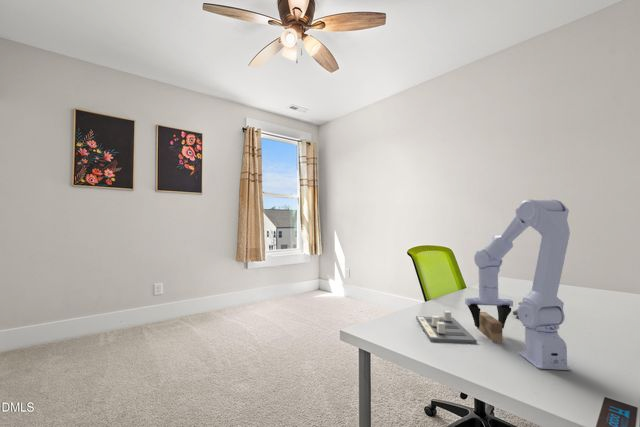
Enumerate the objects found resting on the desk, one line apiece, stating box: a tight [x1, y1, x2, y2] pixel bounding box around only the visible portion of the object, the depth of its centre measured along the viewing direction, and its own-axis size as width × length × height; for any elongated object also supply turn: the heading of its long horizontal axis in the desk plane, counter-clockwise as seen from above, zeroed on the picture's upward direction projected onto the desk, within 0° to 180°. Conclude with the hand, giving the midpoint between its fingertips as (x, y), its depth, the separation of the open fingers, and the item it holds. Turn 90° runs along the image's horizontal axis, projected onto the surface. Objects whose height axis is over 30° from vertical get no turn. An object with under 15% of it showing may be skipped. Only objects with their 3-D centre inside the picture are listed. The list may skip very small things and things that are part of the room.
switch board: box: [415, 315, 478, 344], centre depth 105 cm, size 22×14×1 cm, turn 173°
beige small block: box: [437, 322, 445, 334], centre depth 99 cm, size 2×2×3 cm
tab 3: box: [443, 310, 452, 321], centre depth 111 cm, size 2×2×3 cm
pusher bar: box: [476, 311, 503, 343], centre depth 100 cm, size 12×3×6 cm, turn 173°
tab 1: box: [431, 315, 440, 326], centre depth 105 cm, size 2×2×3 cm
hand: (489, 327), depth 100 cm, fingers open, 7 cm apart
